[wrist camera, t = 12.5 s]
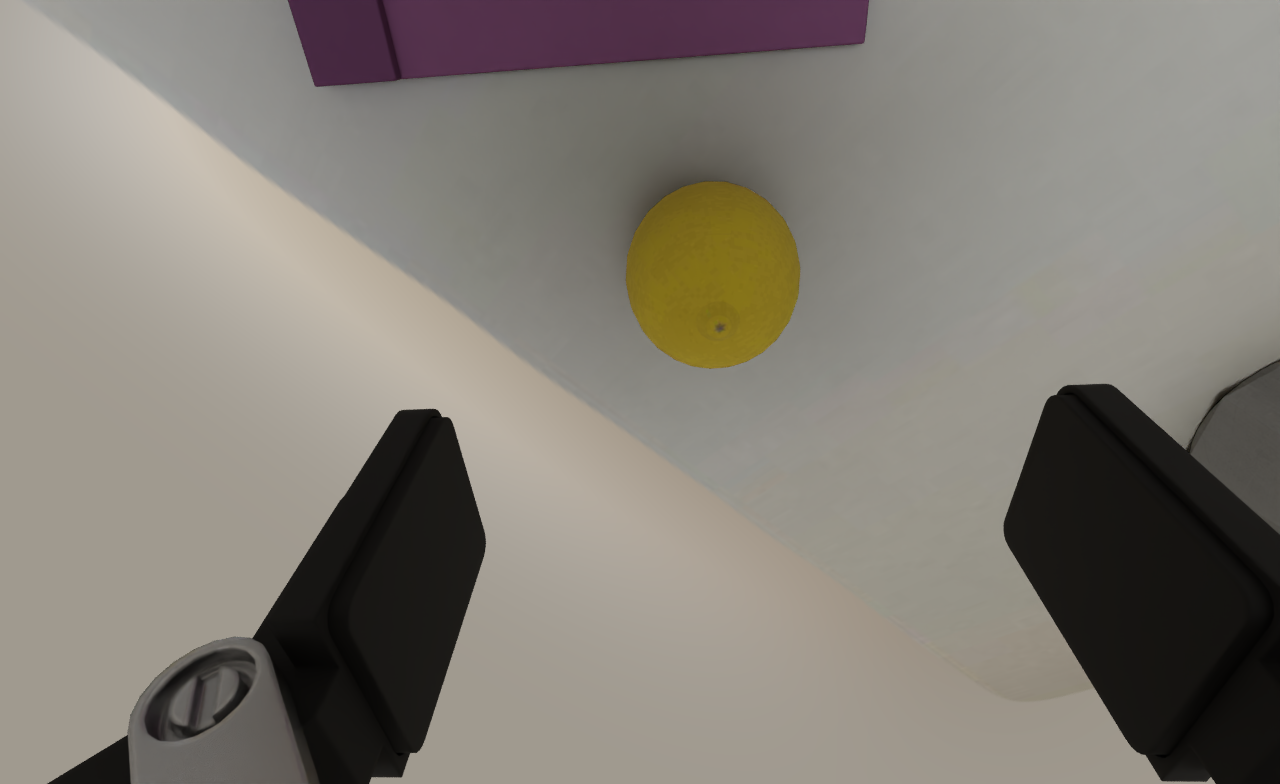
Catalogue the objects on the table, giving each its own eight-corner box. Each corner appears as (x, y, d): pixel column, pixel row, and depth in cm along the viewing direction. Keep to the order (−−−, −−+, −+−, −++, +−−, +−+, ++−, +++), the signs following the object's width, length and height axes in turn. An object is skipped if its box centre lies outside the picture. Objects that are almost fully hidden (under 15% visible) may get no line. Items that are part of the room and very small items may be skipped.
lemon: (691, 327, 26) (697, 443, 19) (603, 222, 23) (574, 311, 17) (808, 246, 23) (862, 343, 17) (723, 123, 21) (746, 179, 15)
